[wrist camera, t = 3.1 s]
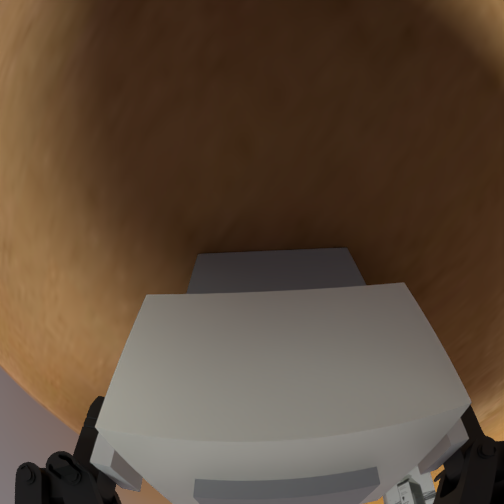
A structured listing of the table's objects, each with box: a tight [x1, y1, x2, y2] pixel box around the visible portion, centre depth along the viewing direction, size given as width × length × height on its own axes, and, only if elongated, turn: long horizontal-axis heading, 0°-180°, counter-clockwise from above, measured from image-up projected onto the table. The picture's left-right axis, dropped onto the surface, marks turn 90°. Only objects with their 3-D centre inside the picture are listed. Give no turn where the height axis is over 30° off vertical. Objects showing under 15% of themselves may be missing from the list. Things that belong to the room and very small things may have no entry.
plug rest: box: [186, 247, 366, 294], centre depth 13 cm, size 8×6×3 cm
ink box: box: [383, 465, 436, 504], centre depth 19 cm, size 9×5×12 cm, turn 21°
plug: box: [95, 282, 472, 504], centre depth 10 cm, size 8×8×8 cm
